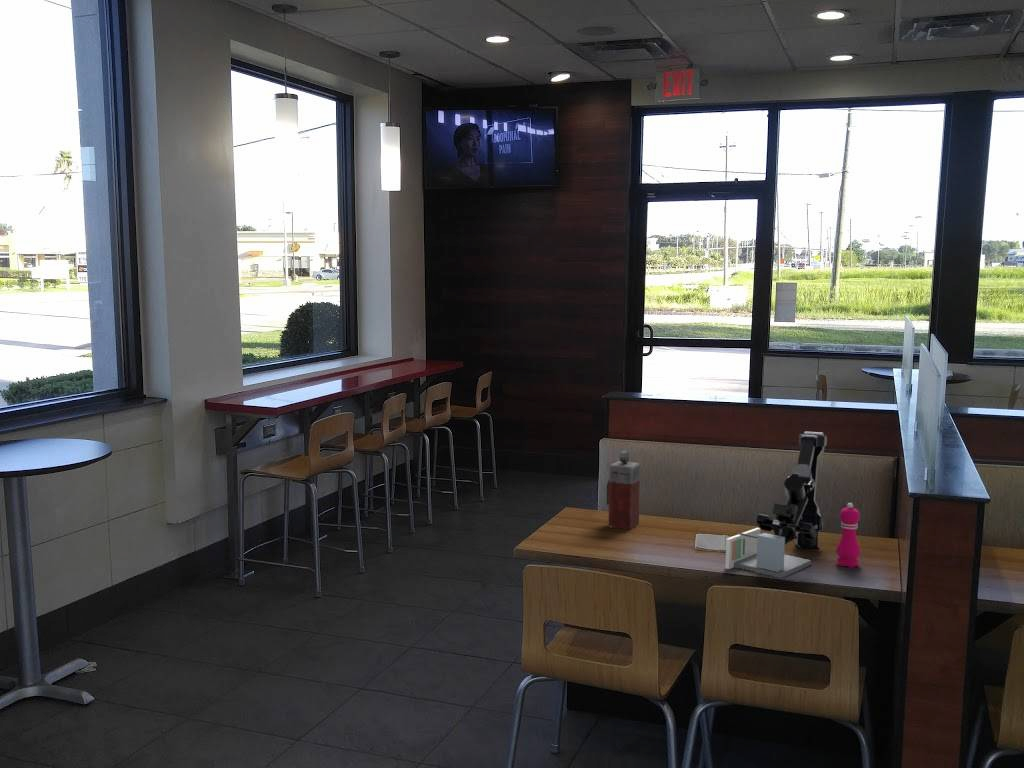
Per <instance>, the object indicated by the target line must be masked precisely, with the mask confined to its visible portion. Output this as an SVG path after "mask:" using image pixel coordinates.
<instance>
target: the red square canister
mask: <svg viewBox="0 0 1024 768" xmlns="http://www.w3.org/2000/svg"><path fill="white" fill-rule="evenodd" d="M629 460H630V453H629V451H626V450H622V451H620V455H619V460H618V461H616V462H614V463H611V464H610V465H609V466H608V469H609V471H608V473H609V474H608V481H607V484H606V505H607V506H608V526H612V527H618V528H617V529H620V528H624V529H623V530H627V529H632V528H633V529H635V528H636V527H638V526H639V525H640V485H641V484H640V481H641V478H640V477H641V474H640V473H641V470H640V469H641V465H640V463H639V462H632V461H629ZM638 524H639V525H638ZM637 525H638V526H637ZM635 526H636V527H635ZM612 527H611V528H612ZM634 527H635V528H634ZM633 529H632V530H633Z"/></svg>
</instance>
